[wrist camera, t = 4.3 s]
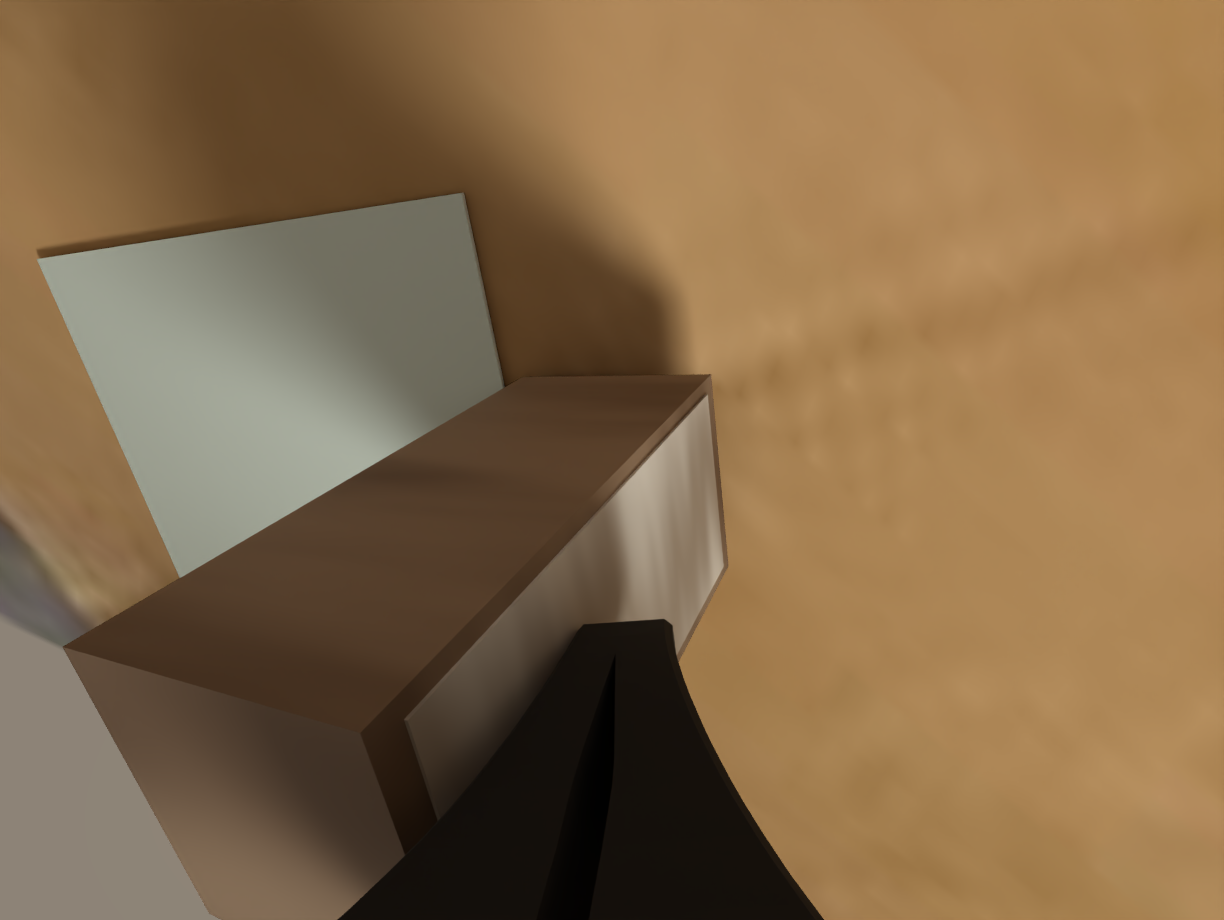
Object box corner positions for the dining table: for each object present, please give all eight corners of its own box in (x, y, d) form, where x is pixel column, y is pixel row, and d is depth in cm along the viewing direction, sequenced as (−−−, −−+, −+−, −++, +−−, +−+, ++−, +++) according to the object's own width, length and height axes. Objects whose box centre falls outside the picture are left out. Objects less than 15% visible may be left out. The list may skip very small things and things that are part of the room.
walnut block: (730, 566, 17) (480, 1051, 8) (556, 546, 19) (209, 913, 10) (712, 374, 15) (364, 733, 6) (522, 377, 18) (62, 647, 9)
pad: (565, 675, 21) (564, 679, 21) (238, 695, 23) (234, 699, 22) (464, 192, 16) (461, 192, 16) (43, 258, 17) (36, 259, 17)
